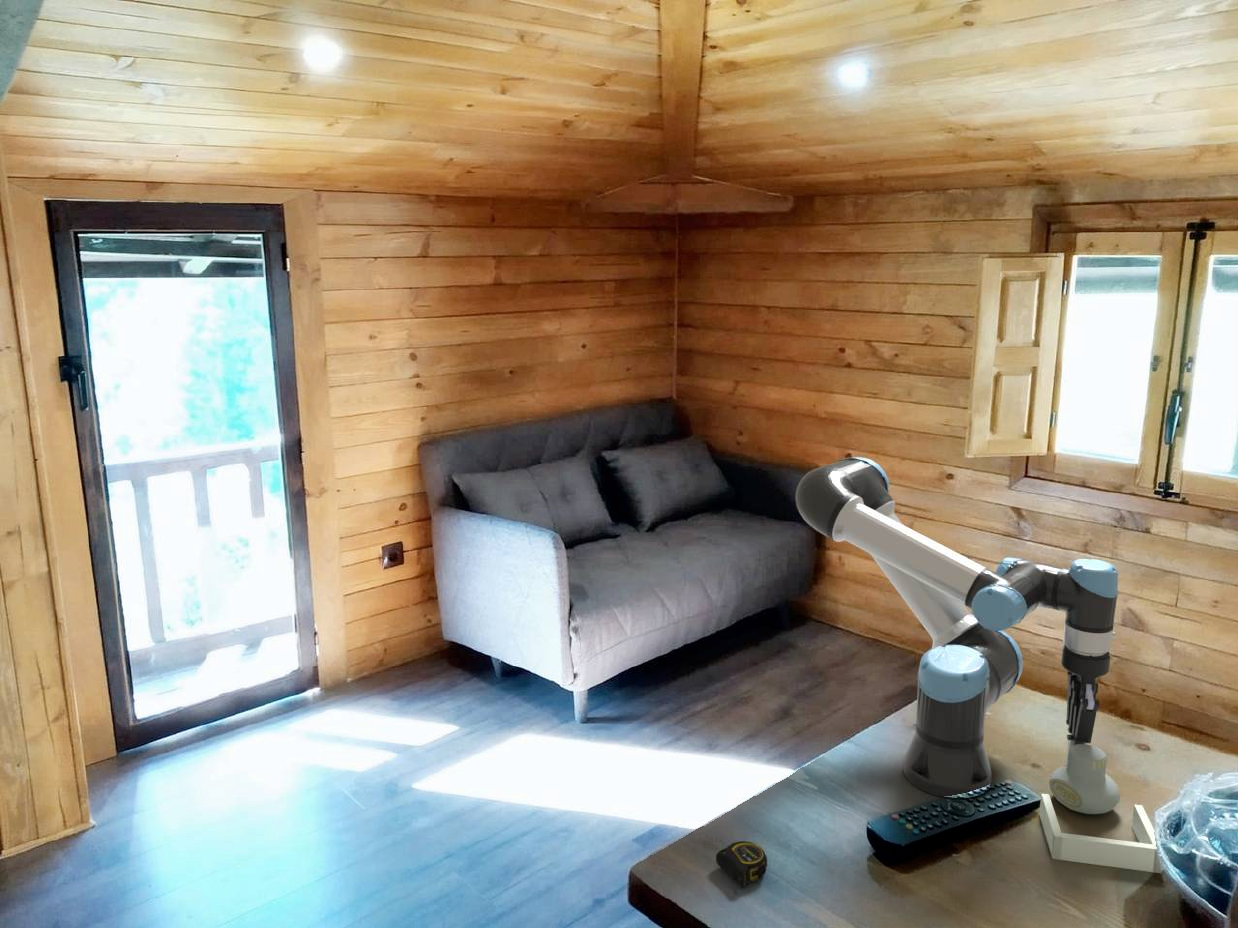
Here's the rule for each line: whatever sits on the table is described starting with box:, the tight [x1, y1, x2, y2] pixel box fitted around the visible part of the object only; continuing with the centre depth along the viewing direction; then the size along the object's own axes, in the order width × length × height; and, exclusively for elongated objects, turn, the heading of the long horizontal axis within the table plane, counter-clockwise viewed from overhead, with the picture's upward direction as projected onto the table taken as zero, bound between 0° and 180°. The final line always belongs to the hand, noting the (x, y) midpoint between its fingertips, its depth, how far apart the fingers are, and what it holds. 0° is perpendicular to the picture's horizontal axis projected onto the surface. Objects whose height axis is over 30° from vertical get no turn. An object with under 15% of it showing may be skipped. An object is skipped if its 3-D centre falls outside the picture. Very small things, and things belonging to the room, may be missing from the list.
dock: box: [1039, 793, 1163, 874], centre depth 151 cm, size 15×12×4 cm
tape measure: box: [715, 840, 768, 888], centre depth 145 cm, size 7×7×4 cm
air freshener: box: [1048, 743, 1121, 815], centre depth 161 cm, size 11×8×10 cm
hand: (1074, 769), depth 168 cm, fingers closed
